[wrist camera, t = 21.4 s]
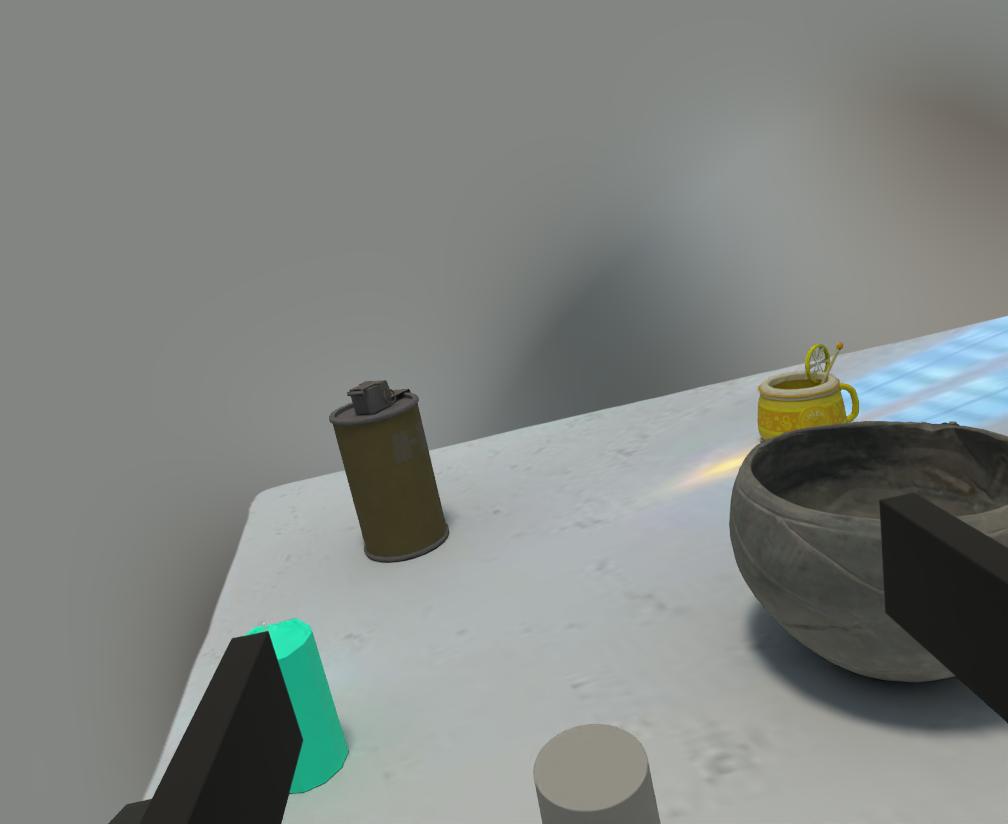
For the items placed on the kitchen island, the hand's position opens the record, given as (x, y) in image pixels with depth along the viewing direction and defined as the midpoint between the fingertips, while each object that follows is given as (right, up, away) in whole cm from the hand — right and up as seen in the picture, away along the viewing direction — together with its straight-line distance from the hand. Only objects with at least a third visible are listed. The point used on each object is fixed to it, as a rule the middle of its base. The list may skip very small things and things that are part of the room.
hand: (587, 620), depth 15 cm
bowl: (+27, -13, +39) cm, 50 cm away
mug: (+38, +1, +80) cm, 89 cm away
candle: (-16, -22, +39) cm, 48 cm away
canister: (-13, -11, +74) cm, 76 cm away
